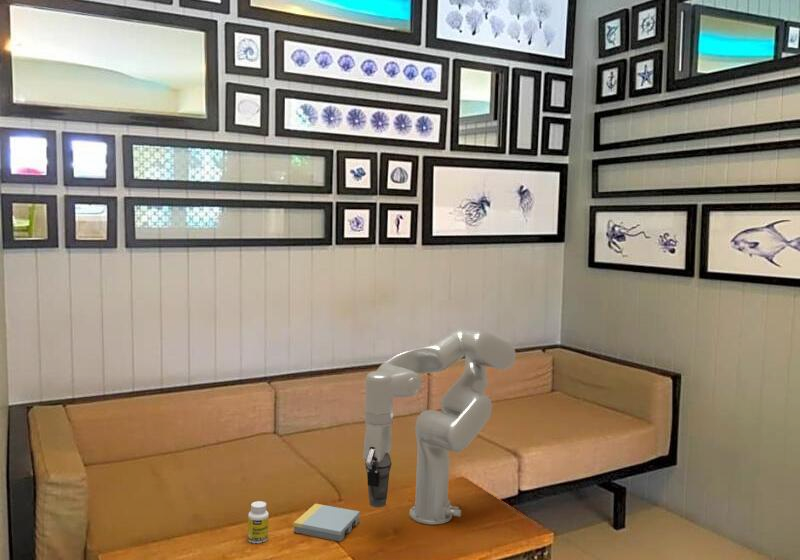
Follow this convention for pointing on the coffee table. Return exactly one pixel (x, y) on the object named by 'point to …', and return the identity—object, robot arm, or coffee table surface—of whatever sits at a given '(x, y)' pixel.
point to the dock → (326, 522)
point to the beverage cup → (380, 483)
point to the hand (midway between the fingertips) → (378, 480)
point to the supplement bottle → (258, 523)
